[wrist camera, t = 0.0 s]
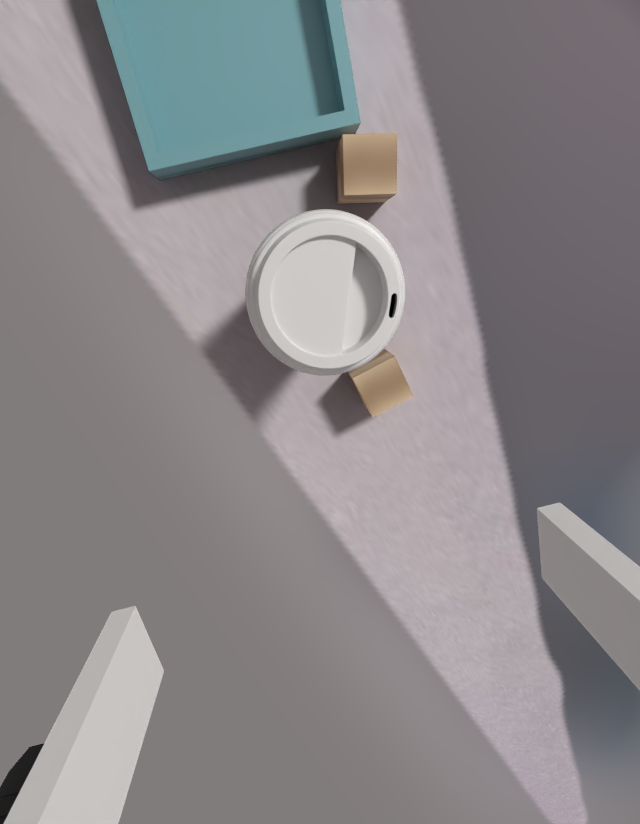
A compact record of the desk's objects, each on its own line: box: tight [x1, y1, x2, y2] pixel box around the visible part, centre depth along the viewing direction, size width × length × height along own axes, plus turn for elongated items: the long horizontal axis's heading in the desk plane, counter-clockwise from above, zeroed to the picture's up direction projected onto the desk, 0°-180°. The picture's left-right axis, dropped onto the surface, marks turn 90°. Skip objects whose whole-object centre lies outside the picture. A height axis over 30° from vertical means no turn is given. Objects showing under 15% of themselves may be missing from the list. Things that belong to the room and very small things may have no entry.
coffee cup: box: [245, 209, 405, 375], centre depth 31 cm, size 10×10×15 cm
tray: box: [96, 0, 361, 180], centre depth 31 cm, size 16×16×3 cm
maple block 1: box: [336, 133, 397, 204], centre depth 34 cm, size 4×4×4 cm
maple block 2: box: [348, 349, 413, 417], centre depth 39 cm, size 4×4×4 cm
